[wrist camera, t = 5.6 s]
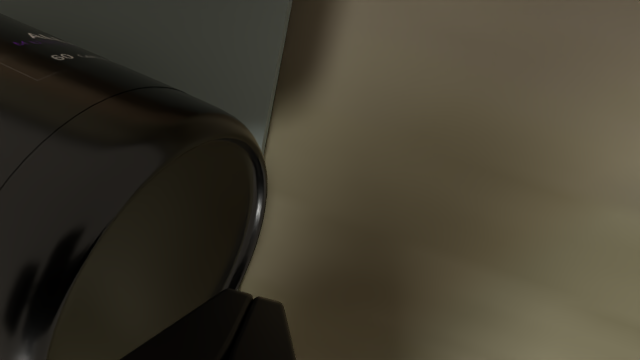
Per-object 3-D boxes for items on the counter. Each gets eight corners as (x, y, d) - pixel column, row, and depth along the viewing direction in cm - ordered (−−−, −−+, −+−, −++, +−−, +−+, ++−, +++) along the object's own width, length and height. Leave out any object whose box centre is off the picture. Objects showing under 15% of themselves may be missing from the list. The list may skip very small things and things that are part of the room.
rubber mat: (231, 326, 19) (226, 337, 18) (-115, 234, 19) (-130, 242, 19) (331, -212, 12) (329, -220, 11) (-208, -340, 12) (-236, -353, 12)
